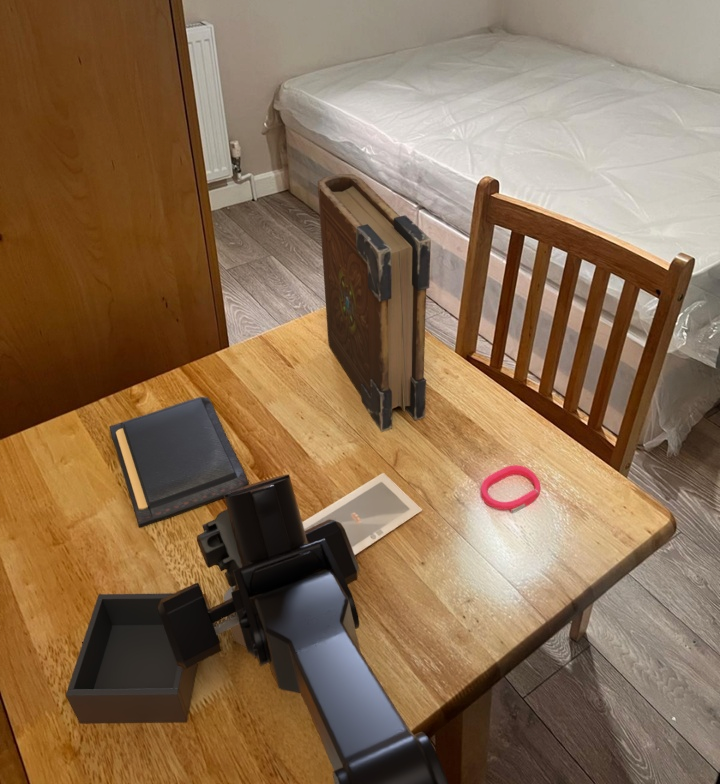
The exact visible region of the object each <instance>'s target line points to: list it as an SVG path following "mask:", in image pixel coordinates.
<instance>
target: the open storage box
mask: <svg viewBox="0 0 720 784" xmlns="http://www.w3.org/2000/svg"><path fill="white" fill-rule="evenodd" d="M174 593H175V592H172V593H171V592H167V593H166V592H165V593H163V592H162V593H159V592H158V593H99V594H98V595H97V599H96V602H95V604H94V607H93V611H92V614H91V616H90V620H89V623H88V626H87V628H86V632H85V634H84V638H83V641H82V644H81V647H80V650H79V653H78V656H77V658H76V662H75V666H74V668H73V671H72V674H71V678H70V680H69V683H68V686H67V690H66V692H65V697H66V699H67V701H68V703H69V705H70V707H71V709H72V712H73V713H74V715H75V717H76V719H77V721H78V724H159V723H160V724H161V723H162V724H165V723H166V724H167V723H168V724H169V723H176V724H177V723H187V722H188V717H189V713H190V707H191V702H192V697H193V690H194V686H195V680H196V675H197V669H198V665H199V663H197V664H195V665H193V666H191V667H189V668H187V669H185V668H183V667H180V666H178V665H177V663H176V660H175V657H174V654H173V652H172V649H171V646H170V643H169V640H168V638H167V635H166V632H165V629H164V626H163V623H162V621H161V618H160V615H159V612H158V609H157V607H158V605H159V603H160V601H161V599H163V598H165V597H167V596H170V595H172V594H174Z"/></svg>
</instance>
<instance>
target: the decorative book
mask: <svg viewBox="0 0 720 784" xmlns="http://www.w3.org/2000/svg"><path fill="white" fill-rule="evenodd" d="M317 192H318V194H317V195H318V209H319V222H320V223H319V224H320V225H319V226H320V237H321V238H320V239H321V251H322V252H321V253H322V254H321V255H322V269H323V285H324V286H323V287H324V300H325V312H326V329H327V341H328V347H329V348H330V350H331V352H332V353H333V354H334V356H335V358H336V360H338V362H339V364H340V365H341V367H342V369H343V370H344V372H345V373H346V375H347V376H348V378H349V379H350V381H351V382H352V384H353V386H354V387H355V389H356V390H357V392H358V393H359V395H360V396H361V403H362V405H363V406H364V408H365V410H366V411H367V413H368V414H369V415H370V418H371V419H372V420H373V421H374V424H375V425H376V426H377V428H378V430H379V431H380V432H381V433H383V432H387V431H389V430H392V429H393V409H395V408H397V407H400V408H401V410H402V411H403V412H406V411H407V412H408V414H409V415H410V417H411V419H412V420H413V421H414V422H415V421H418V420H421V419H424V418H426V395H427V394H426V393H427V379H426V378H425V377H424V373H425V348H426V347H425V344H426V310H427V289H430V283H431V282H430V281H431V280H430V279H431V252H432V249H431V248H432V238H430V237H429V236H428V235H427V234H426V233H425V232H424V231H423V230H422V229H421V228H420V227H419V226H418V225H417V224H415V222H414V221H413V220H411V218H409V217H408V216H407V214H405V215H400V214H399V213H398V212H397V211H395V209H393V208H392V207H391V206H390V205H389V204H388V202H386V201H385V200H384V199H383V198H382V197H381V196H380V195H379V194H378V193H377V192H376V190H373V188H372V187H370V185H368V183H367V182H366V181H364V179H362V178H361V177H359V176H357V175H355V174H352V173H351V174H350V173H339V174H333V175H329V176H325V177H322V178H321V179H319V180H318V181H317Z"/></svg>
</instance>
